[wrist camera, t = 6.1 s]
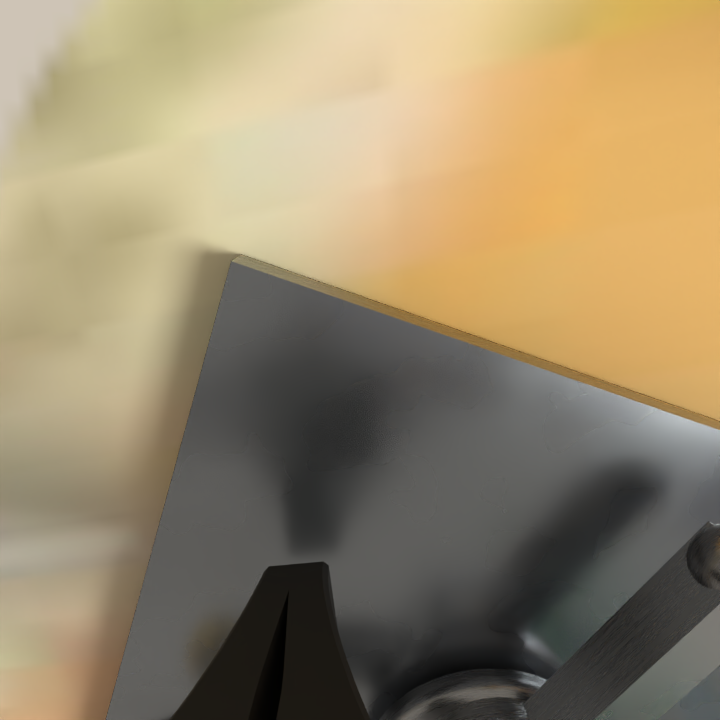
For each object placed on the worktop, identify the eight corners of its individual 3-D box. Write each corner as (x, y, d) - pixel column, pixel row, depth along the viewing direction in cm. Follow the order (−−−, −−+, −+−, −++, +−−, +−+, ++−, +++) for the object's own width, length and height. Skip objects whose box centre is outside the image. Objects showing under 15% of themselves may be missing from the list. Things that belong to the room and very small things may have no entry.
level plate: (956, 503, 14) (1042, 549, 12) (599, 911, 20) (624, 979, 18) (241, 254, 11) (222, 267, 9) (84, 817, 17) (55, 887, 15)
